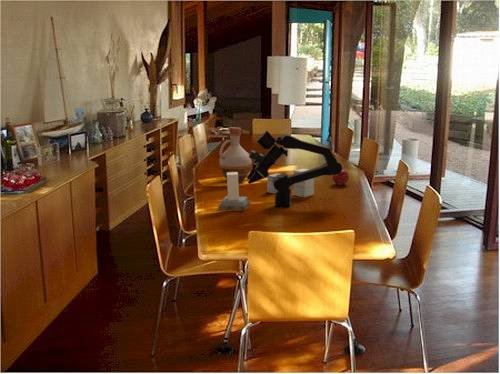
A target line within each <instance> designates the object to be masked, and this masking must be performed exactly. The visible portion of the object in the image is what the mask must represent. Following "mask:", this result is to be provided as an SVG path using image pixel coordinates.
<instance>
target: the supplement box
mask: <svg viewBox="0 0 500 374" xmlns="http://www.w3.org/2000/svg"><path fill="white" fill-rule="evenodd" d="M310 169H311V168H310ZM310 169H309V168H300V169H299V168H298V169H296V170H293V174H296V173H300V172H303V171H307V170H310ZM314 187H315V178H312V179H309V180H306V181H302V182H299V183H296V184H293V195H294V196H297V197H301V198H308V197H310V196H315V195H314V193H315V188H314Z"/></svg>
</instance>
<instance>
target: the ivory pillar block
mask: <svg viewBox="0 0 500 374" xmlns="http://www.w3.org/2000/svg"><path fill="white" fill-rule="evenodd" d="M226 182H227V196H228V201H232V200H239V197H240V191H239V189H240V186H239V183H238V172H227V179H226Z"/></svg>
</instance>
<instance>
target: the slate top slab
mask: <svg viewBox="0 0 500 374" xmlns="http://www.w3.org/2000/svg"><path fill="white" fill-rule="evenodd" d="M247 201H248V196H239V200H232V201H228V195H226V196H225V197H223V199H222V200H221V203H220V204H221V206H239V207H243V206H244V205H245V203H246V202H247Z"/></svg>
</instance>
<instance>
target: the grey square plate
mask: <svg viewBox="0 0 500 374" xmlns="http://www.w3.org/2000/svg"><path fill="white" fill-rule="evenodd" d="M250 204H251V201H250V200H247V202H246V203H245V205H244V206H243V207H239V206H221V203H220V204H219V205H218V206H217V209H218V211H231V212H232V211H233V212H245V211H246V210H247V208H248V207H249V206H250ZM248 205H249V206H248ZM245 209H246V210H245Z"/></svg>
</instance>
